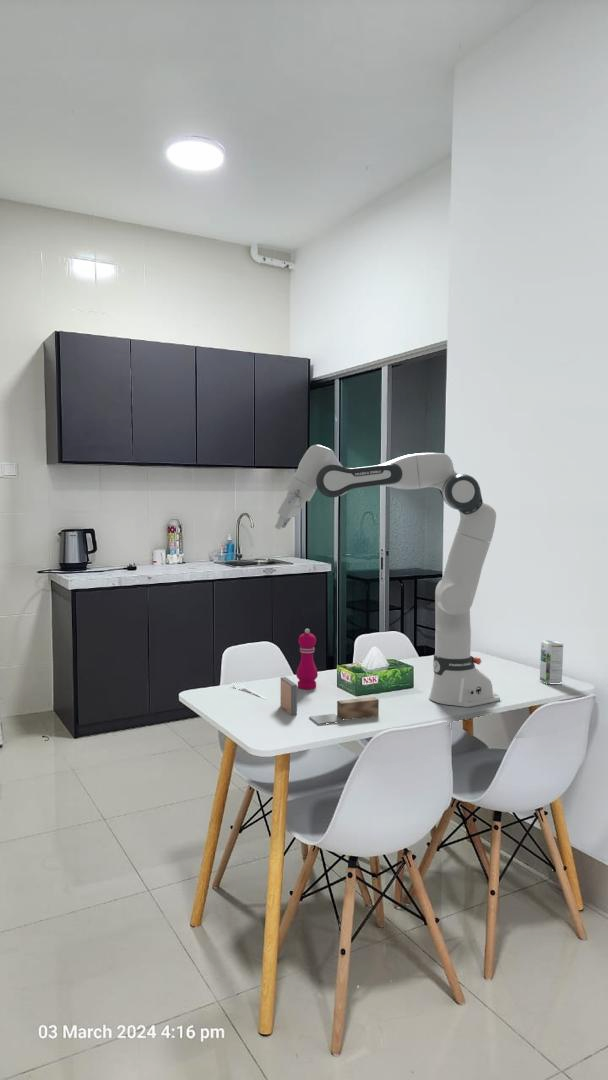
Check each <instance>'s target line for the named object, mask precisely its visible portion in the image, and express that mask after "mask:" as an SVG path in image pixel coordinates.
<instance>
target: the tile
mask: <svg viewBox="0 0 608 1080" xmlns="http://www.w3.org/2000/svg"><path fill="white" fill-rule="evenodd" d="M280 708H282V709H283V710H285V711H286V712H287V713H288V714H289V715H291V716H297V715H298V712H297V711H298V684H297V683H295V682H293V681H292V680H291V679H289V678H288V677H286V676H283V677H280Z"/></svg>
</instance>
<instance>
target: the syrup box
mask: <svg viewBox="0 0 608 1080" xmlns="http://www.w3.org/2000/svg"><path fill="white" fill-rule="evenodd" d="M539 659H540V661H539V681H540V680H541V681H542V683H543V682H545V683H547V684H550V683H560V682H562V683H563V661H564V660H563V659H564V643H561V642H559V641H556V640H549V639H548V640H547V639H545V640H541V642H540V658H539ZM541 681H540V682H541ZM545 683H544V684H545Z"/></svg>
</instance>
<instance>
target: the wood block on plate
mask: <svg viewBox="0 0 608 1080" xmlns="http://www.w3.org/2000/svg"><path fill="white" fill-rule="evenodd" d="M336 702H337V703H336V704H337V705H336V706H337V707H336V709H337V710H336V713H337V714H335V713H329V714H320V715H319V714H318V715H311V716H309V717H308V719H309V718H310V720H311V721H312V720H313V721H314V722H313V721H312V722H313V723H315V724H316V723H317V724H318V725H317V724H316V725H317V726H320V725H319V724H326V723H335V722H344V723H345V720H343V719H349V720H353V719H352V718H358V719H363V718H362V717H366V718H373V717H372V716H375V717H379V711H380V710H379V709H380V708H379V704H380V703H379V702H380V701H379V699H378V698H377V697H375V696H369V697H361V698H360V697H359V698H351V699H342V700H337V701H336ZM335 724H336V723H335Z"/></svg>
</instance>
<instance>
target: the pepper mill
mask: <svg viewBox="0 0 608 1080" xmlns="http://www.w3.org/2000/svg"><path fill="white" fill-rule="evenodd" d="M310 630H311V629H309V628H305V629H304V633H302V634H299V637H298V640H297V641H298V644H299V646H300V647H299V653H300V656H301V657H300V662H299V665H298V667H297V670H296V678H297V679H298V681H297V689H298V688H299V689H300V688H301V689H302V690H313V688H314V689H316V688H317V681H316V679H317V678H318V675H319V674H318V673H319V672H318V669H317V666H316V663H315V662H314V653H315V645H316V643H317V637H316V636H315V635H314V634H313V633H311V631H310Z"/></svg>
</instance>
